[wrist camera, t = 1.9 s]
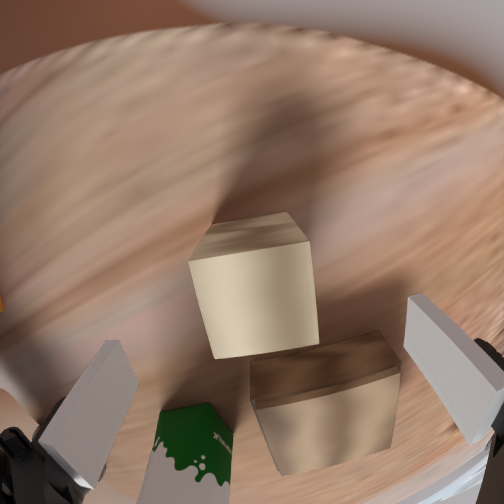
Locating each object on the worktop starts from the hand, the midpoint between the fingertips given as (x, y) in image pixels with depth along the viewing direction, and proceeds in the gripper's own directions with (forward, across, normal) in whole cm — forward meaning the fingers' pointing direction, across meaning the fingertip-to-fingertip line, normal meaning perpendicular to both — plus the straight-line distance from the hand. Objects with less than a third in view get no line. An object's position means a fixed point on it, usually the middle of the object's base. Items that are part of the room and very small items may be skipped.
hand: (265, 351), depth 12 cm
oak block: (+14, 0, 0) cm, 14 cm away
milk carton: (+14, -11, -21) cm, 28 cm away
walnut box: (+15, +5, -18) cm, 24 cm away
